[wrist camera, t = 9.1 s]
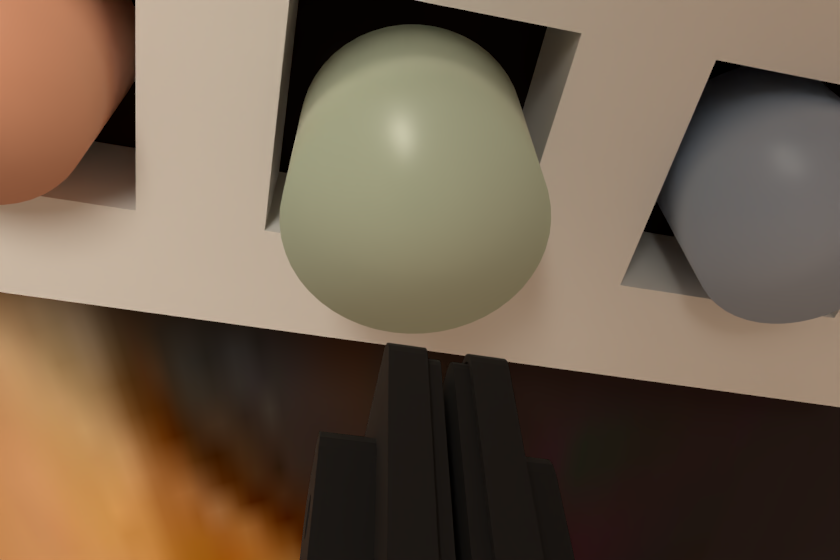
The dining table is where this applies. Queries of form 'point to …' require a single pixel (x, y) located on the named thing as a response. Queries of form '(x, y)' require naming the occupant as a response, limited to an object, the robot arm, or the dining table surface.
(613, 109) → the console
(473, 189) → the button sage
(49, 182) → the button terracotta
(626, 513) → the dining table surface
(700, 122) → the button slate
